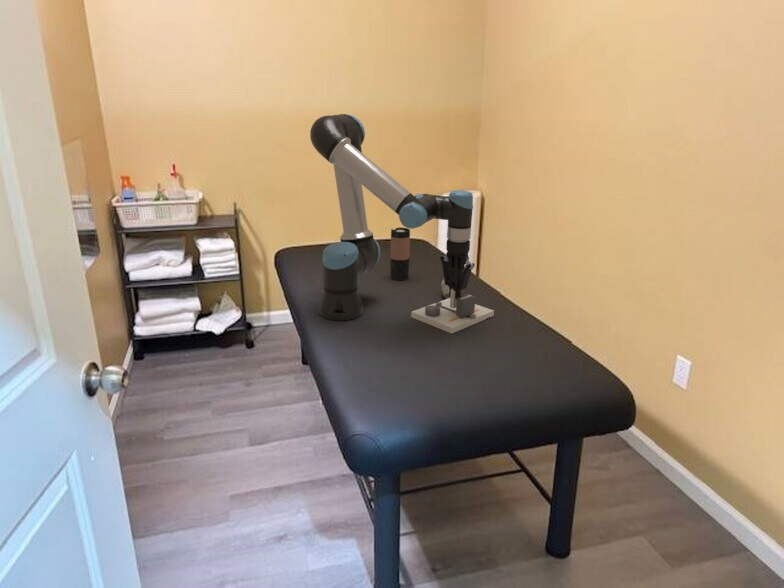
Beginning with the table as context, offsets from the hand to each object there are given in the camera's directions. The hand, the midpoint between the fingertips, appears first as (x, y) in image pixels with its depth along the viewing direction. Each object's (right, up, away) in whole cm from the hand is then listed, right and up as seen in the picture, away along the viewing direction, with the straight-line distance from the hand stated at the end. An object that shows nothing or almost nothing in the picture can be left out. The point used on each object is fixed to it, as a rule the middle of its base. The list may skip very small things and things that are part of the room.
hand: (454, 306), depth 193 cm
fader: (+3, -2, -3) cm, 5 cm away
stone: (+1, +3, +21) cm, 21 cm away
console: (0, -3, +2) cm, 4 cm away
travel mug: (-18, +11, +39) cm, 44 cm away
